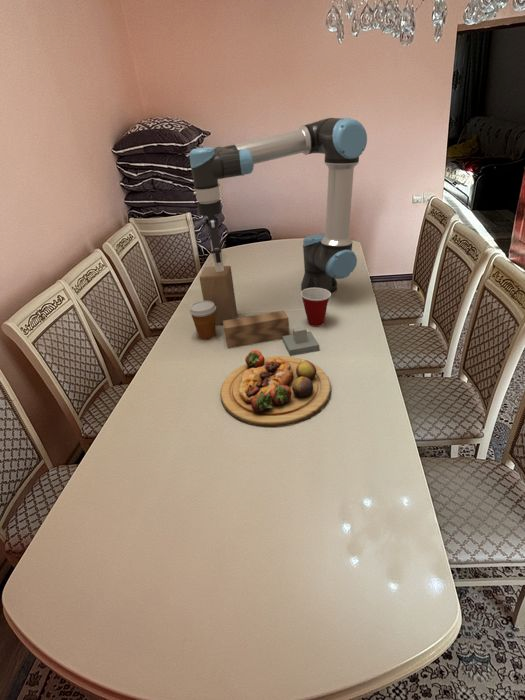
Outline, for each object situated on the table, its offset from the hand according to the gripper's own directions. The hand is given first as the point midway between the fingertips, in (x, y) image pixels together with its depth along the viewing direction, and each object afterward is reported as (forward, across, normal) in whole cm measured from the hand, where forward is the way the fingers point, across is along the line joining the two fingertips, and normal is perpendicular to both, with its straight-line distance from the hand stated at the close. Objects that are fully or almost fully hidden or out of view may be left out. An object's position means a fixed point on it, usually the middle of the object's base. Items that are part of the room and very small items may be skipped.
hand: (218, 264), depth 154 cm
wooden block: (+25, -9, -1) cm, 27 cm away
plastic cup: (+26, +6, +32) cm, 41 cm away
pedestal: (+25, +20, +23) cm, 39 cm away
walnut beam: (+26, +11, +9) cm, 29 cm away
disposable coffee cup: (+25, +2, -8) cm, 27 cm away
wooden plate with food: (+26, +43, +10) cm, 51 cm away
